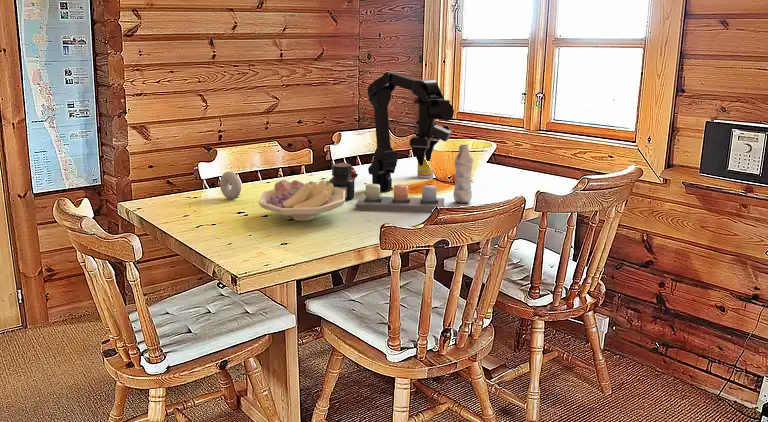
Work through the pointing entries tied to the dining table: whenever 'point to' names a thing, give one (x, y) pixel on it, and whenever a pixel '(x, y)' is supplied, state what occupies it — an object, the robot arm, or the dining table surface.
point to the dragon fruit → (353, 173)
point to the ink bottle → (343, 179)
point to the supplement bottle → (424, 171)
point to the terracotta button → (400, 192)
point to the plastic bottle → (463, 175)
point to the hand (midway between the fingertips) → (424, 163)
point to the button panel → (398, 204)
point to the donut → (235, 185)
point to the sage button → (372, 191)
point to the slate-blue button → (429, 193)
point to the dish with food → (302, 199)
